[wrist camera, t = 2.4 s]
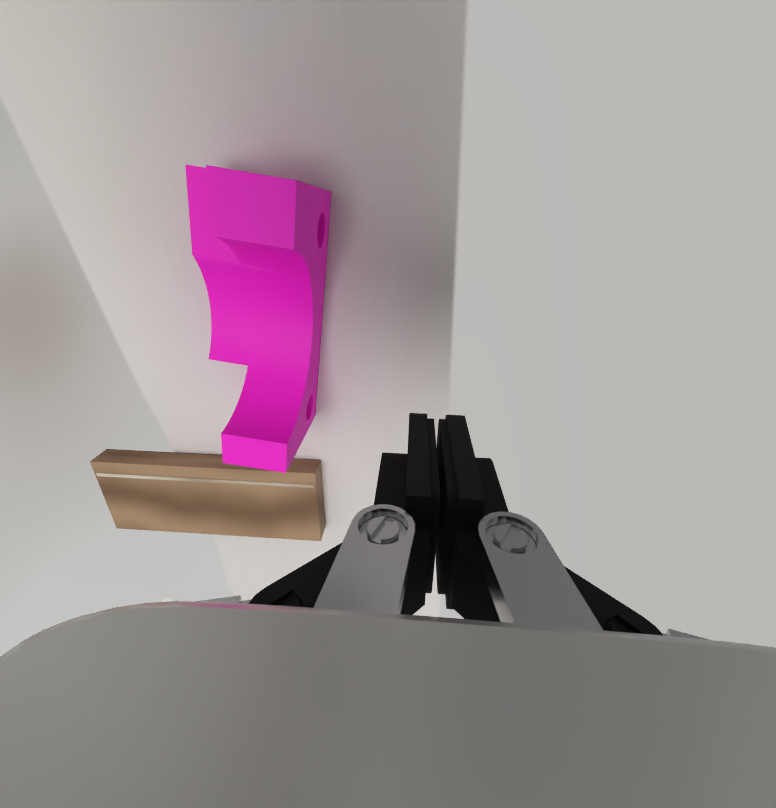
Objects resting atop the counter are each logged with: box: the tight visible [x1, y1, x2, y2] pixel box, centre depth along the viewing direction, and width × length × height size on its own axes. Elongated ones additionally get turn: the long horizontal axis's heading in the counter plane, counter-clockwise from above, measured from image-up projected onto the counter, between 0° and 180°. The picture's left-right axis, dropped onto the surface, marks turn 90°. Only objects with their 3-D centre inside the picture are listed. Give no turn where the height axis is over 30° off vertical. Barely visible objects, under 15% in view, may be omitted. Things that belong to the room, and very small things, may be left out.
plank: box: [90, 449, 325, 541], centre depth 32 cm, size 7×18×2 cm, turn 89°
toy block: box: [186, 165, 331, 473], centre depth 22 cm, size 15×6×8 cm, turn 171°
